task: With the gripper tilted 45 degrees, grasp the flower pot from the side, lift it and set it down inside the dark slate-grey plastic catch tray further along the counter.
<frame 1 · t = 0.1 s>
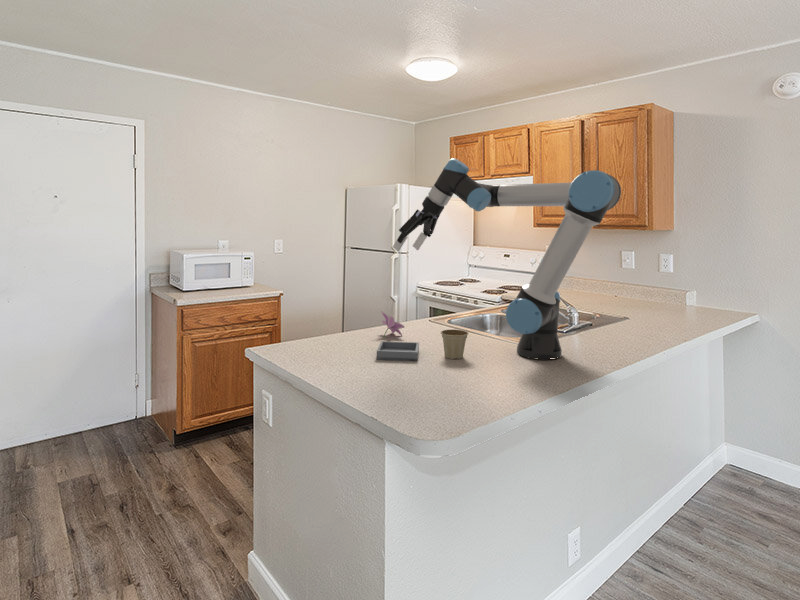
hand: (405, 248, 186), 36 cm above the worktop, tool tilted 35°, fingers open, 13 cm apart
flower pot: (453, 357, 172), on the worktop
catch tray: (398, 355, 173), on the worktop
lily: (391, 336, 202), on the worktop
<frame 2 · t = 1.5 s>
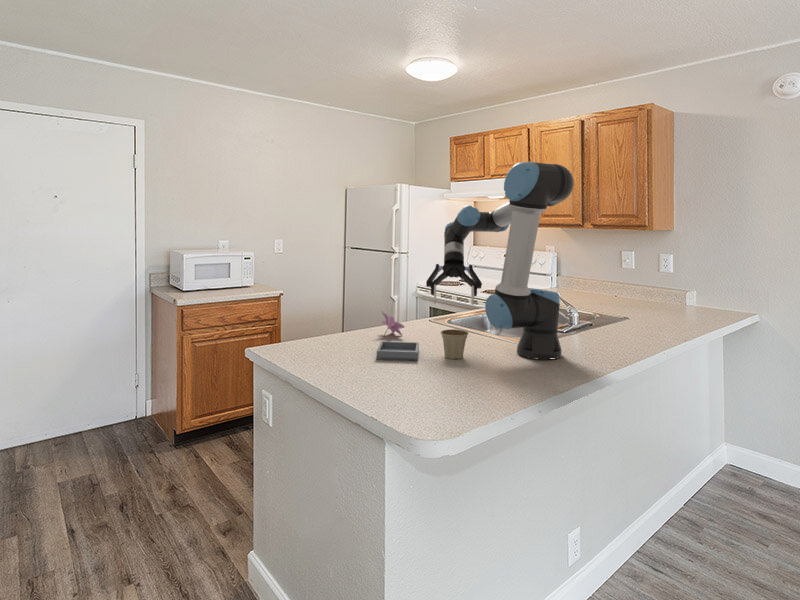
hand: (453, 302, 180), 17 cm above the worktop, tool tilted 45°, fingers open, 13 cm apart
nothing on the worktop moved.
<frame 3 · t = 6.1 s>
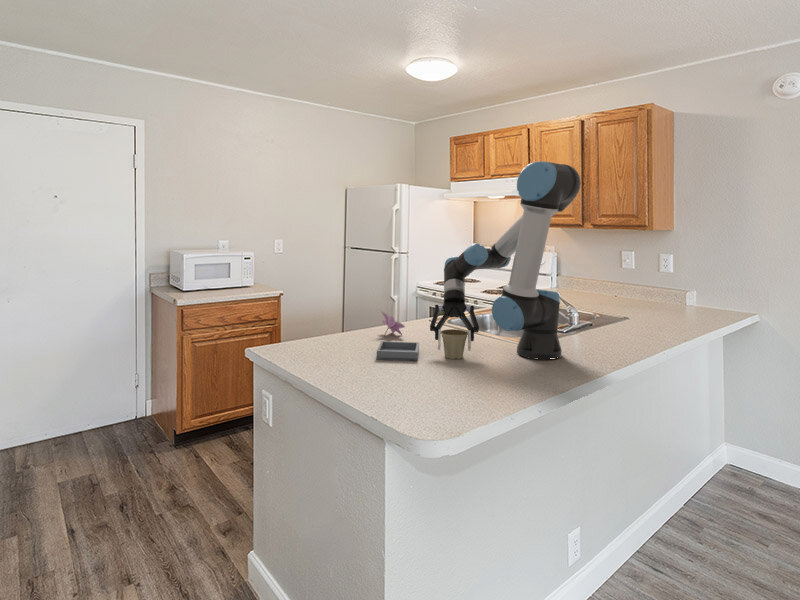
hand: (454, 348, 168), 4 cm above the worktop, tool tilted 45°, fingers closed on flower pot, 9 cm apart
flower pot: (453, 357, 172), on the worktop, touching gripper
everything else where it was.
when the fingers open (6 cm above the worktop, at t = 12.8 s): flower pot drops 1 cm, resting on catch tray.
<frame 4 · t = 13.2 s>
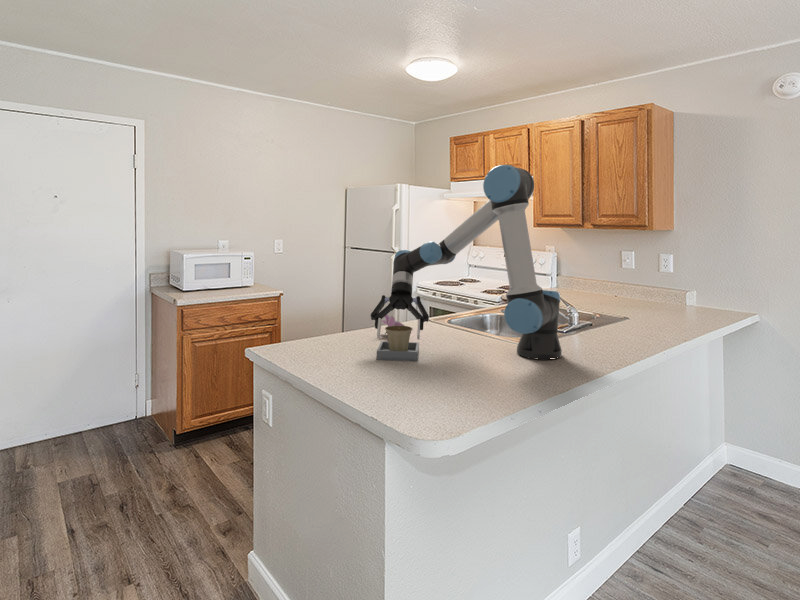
hand: (398, 336, 170), 7 cm above the worktop, tool tilted 45°, fingers open, 13 cm apart
flower pot: (398, 353, 173), point 1 cm above the worktop, touching catch tray
everything else where it was.
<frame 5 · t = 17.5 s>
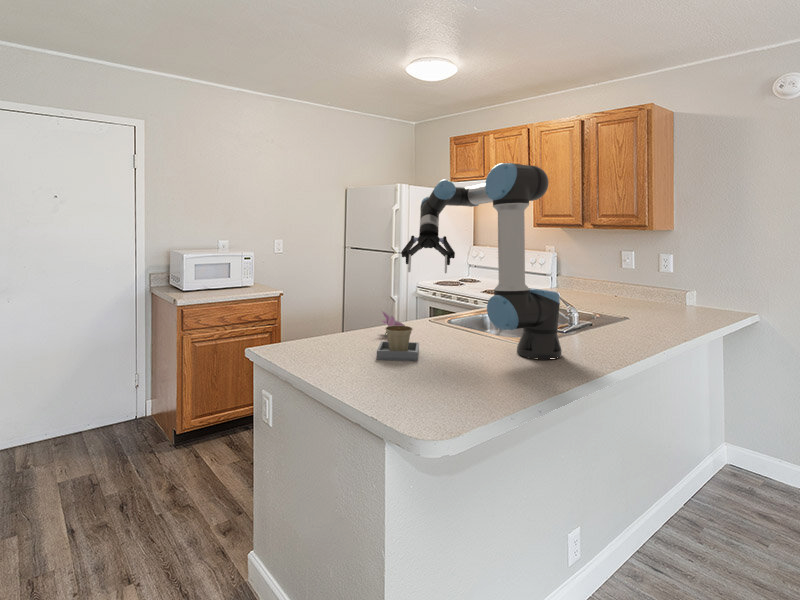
hand: (427, 270, 187), 28 cm above the worktop, tool tilted 45°, fingers open, 13 cm apart
at the end: flower pot inside the target area on the catch tray (0.1 cm from its centre), point 0.6 cm above the catch tray's base; flower pot tilted 0°; the gripper is holding nothing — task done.
